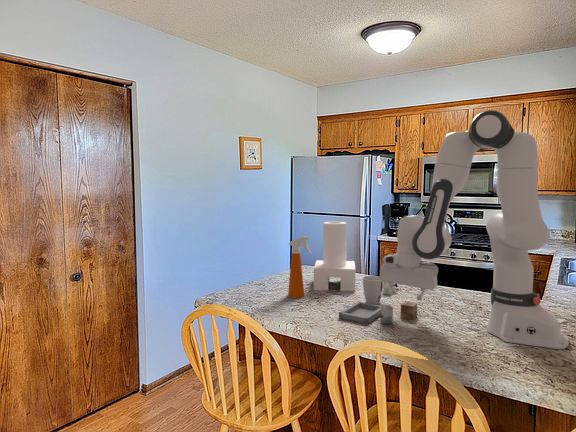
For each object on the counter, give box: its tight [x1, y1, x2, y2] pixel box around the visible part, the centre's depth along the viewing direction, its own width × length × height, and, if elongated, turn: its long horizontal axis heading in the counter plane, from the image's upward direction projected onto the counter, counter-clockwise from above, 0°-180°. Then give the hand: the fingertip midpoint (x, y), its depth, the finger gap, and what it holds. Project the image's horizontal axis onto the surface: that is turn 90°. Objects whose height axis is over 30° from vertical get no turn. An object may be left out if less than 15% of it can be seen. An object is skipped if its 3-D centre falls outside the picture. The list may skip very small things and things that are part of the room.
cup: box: [362, 275, 383, 305], centre depth 161 cm, size 8×8×10 cm
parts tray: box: [338, 301, 382, 326], centre depth 145 cm, size 11×16×2 cm
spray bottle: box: [287, 235, 313, 299], centre depth 169 cm, size 7×11×26 cm, turn 71°
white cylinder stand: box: [313, 221, 356, 292], centre depth 187 cm, size 19×19×30 cm
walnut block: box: [400, 300, 418, 321], centre depth 143 cm, size 4×4×5 cm
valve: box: [382, 281, 399, 295], centre depth 177 cm, size 7×7×12 cm
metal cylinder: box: [380, 304, 394, 327], centre depth 137 cm, size 4×4×6 cm
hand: (406, 297), depth 143 cm, fingers open, 8 cm apart
